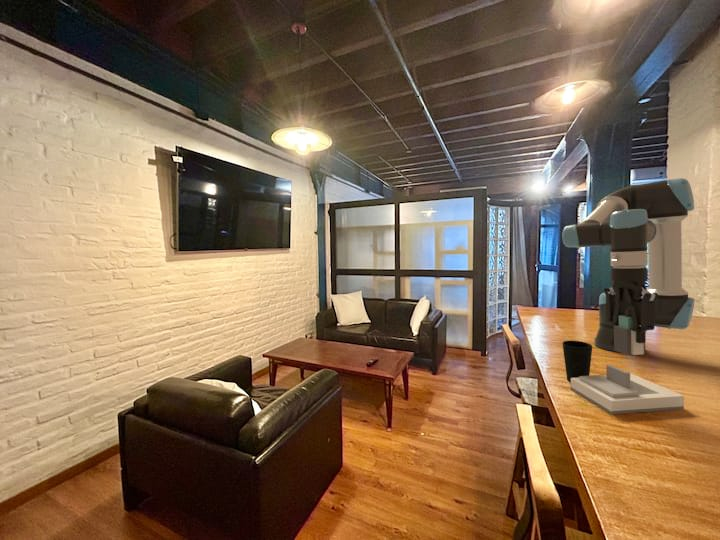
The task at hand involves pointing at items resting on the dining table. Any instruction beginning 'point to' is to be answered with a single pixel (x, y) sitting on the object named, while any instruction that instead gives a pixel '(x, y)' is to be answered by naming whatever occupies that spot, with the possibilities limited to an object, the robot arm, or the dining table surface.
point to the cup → (577, 358)
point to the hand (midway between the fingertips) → (629, 351)
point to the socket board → (631, 397)
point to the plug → (624, 334)
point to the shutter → (612, 382)
